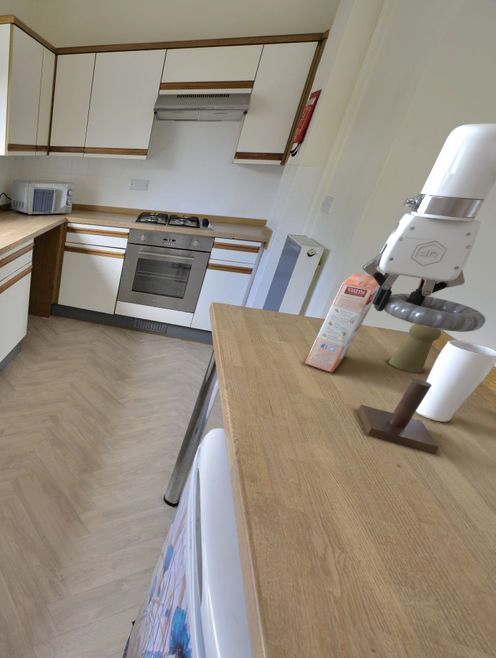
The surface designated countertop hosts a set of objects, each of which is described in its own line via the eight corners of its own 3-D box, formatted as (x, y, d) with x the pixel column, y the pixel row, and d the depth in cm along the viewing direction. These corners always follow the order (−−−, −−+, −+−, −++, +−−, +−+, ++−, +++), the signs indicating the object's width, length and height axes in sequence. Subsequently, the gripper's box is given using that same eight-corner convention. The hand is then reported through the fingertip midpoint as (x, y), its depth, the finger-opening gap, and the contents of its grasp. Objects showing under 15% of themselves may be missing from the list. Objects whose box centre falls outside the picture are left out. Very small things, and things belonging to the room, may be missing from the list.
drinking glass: (400, 408, 83) (439, 342, 76) (418, 402, 85) (458, 337, 79) (443, 428, 77) (489, 358, 71) (461, 421, 80) (508, 353, 73)
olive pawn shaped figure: (387, 358, 104) (408, 318, 99) (419, 365, 101) (443, 325, 96) (390, 366, 100) (413, 325, 95) (424, 375, 97) (449, 333, 92)
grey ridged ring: (462, 317, 76) (471, 301, 74) (493, 341, 65) (504, 324, 64) (372, 301, 81) (379, 287, 80) (387, 321, 71) (396, 305, 70)
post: (417, 426, 77) (447, 379, 73) (434, 453, 70) (468, 403, 66) (357, 410, 81) (382, 364, 77) (367, 434, 74) (395, 385, 70)
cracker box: (333, 374, 95) (376, 288, 85) (303, 364, 99) (340, 281, 89) (346, 357, 103) (386, 277, 94) (317, 349, 107) (353, 271, 98)
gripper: (386, 204, 68) (339, 307, 76) (529, 217, 61) (461, 329, 69) (376, 201, 74) (333, 296, 82) (506, 212, 67) (445, 316, 75)
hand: (392, 310), depth 75 cm, fingers closed on grey ridged ring, 3 cm apart
